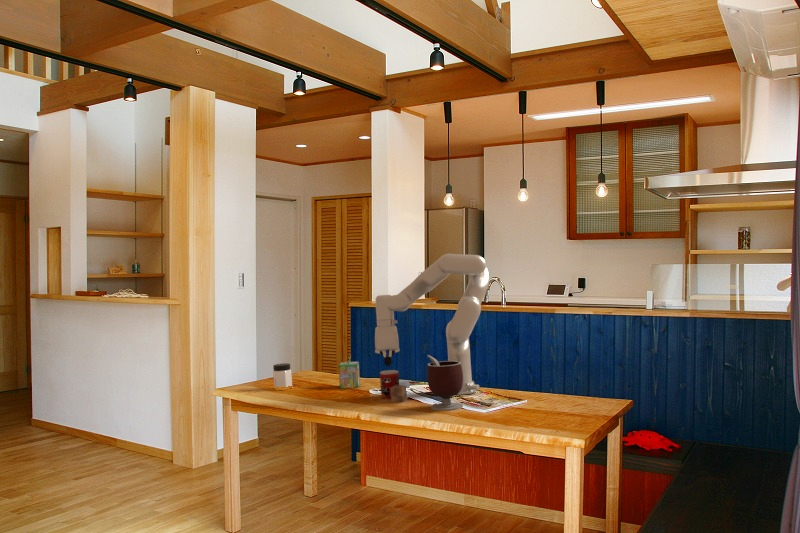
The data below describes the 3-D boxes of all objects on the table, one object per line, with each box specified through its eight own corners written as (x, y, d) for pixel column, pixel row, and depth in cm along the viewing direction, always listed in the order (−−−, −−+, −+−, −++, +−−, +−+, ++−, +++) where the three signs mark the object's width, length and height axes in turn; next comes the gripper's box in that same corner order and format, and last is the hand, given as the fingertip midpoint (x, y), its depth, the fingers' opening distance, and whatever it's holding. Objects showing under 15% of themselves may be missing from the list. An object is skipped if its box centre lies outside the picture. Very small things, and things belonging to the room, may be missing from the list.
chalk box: (341, 385, 326) (339, 355, 326) (360, 384, 326) (358, 354, 326) (339, 389, 317) (337, 358, 317) (358, 388, 316) (356, 356, 316)
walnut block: (407, 399, 280) (406, 385, 280) (403, 402, 276) (402, 387, 276) (395, 399, 282) (394, 385, 282) (391, 402, 277) (390, 387, 277)
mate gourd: (472, 405, 260) (468, 354, 260) (448, 412, 250) (445, 359, 250) (442, 401, 271) (439, 352, 271) (418, 408, 261) (415, 357, 261)
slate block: (409, 391, 298) (409, 380, 298) (399, 394, 295) (398, 382, 295) (401, 390, 303) (400, 379, 303) (391, 392, 299) (390, 381, 299)
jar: (272, 389, 330) (270, 364, 330) (288, 386, 334) (286, 362, 334) (278, 391, 322) (276, 366, 322) (294, 388, 326) (292, 364, 326)
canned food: (378, 396, 291) (377, 371, 291) (395, 394, 294) (393, 369, 294) (385, 399, 284) (384, 373, 284) (402, 396, 287) (401, 371, 287)
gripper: (403, 321, 293) (405, 363, 293) (369, 323, 293) (371, 365, 293) (402, 323, 285) (405, 366, 285) (367, 325, 286) (370, 368, 285)
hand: (388, 365), depth 289 cm, fingers closed
